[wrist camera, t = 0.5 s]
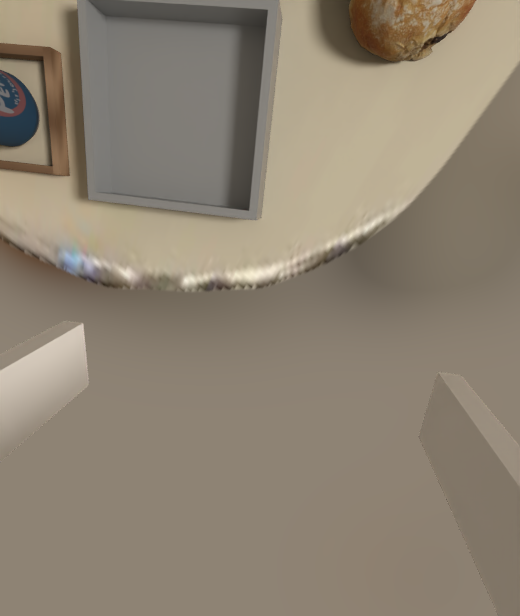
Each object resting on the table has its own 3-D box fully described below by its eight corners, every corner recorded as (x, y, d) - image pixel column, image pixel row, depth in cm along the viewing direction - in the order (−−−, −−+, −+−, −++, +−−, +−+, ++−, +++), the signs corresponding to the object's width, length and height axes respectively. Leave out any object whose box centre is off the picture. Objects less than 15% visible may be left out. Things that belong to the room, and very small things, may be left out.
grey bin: (99, 6, 32) (76, -14, 29) (282, 19, 31) (279, -2, 28) (107, 199, 38) (88, 199, 35) (261, 217, 37) (256, 220, 33)
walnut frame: (-43, 44, 35) (-58, 38, 34) (60, 53, 34) (49, 47, 33) (-25, 165, 39) (-37, 163, 38) (69, 175, 38) (60, 175, 37)
